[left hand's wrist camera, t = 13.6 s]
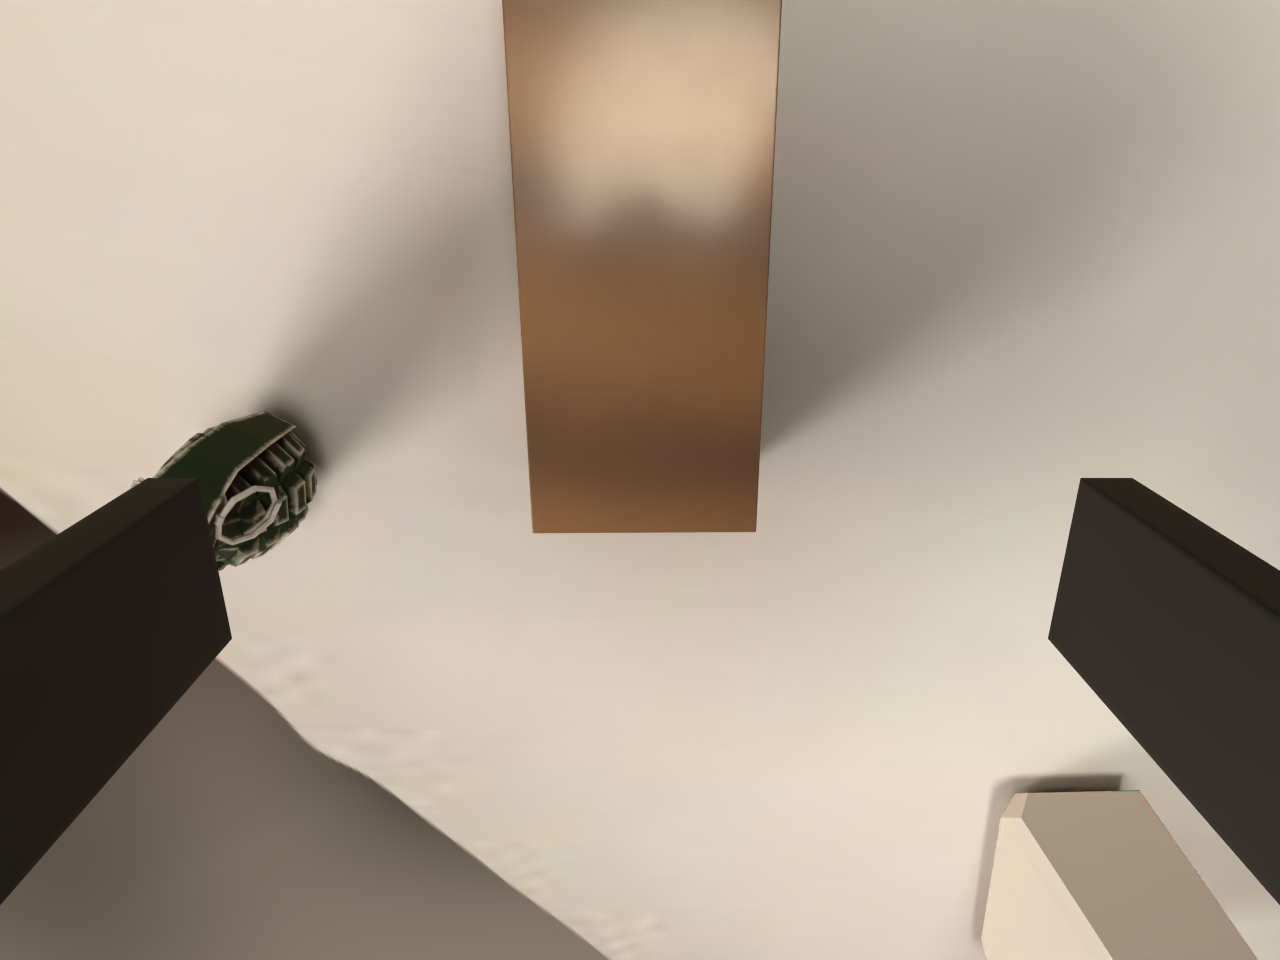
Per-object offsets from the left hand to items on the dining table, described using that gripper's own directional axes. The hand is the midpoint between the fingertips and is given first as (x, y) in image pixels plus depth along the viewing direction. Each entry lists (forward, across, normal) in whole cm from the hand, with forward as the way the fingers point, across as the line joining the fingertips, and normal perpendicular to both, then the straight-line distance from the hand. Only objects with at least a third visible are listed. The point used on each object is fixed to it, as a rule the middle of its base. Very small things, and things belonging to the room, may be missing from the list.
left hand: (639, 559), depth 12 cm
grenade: (+26, +17, +7) cm, 32 cm away
